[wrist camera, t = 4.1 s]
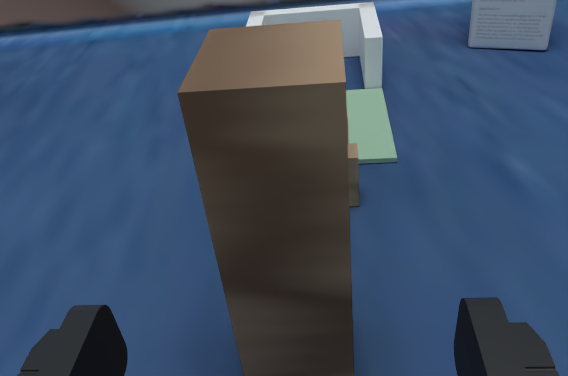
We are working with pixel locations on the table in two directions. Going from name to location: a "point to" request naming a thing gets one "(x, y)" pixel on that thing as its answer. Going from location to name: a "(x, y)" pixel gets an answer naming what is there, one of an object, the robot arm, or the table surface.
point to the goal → (354, 26)
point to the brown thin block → (277, 190)
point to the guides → (353, 174)
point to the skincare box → (511, 24)
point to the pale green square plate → (370, 126)
